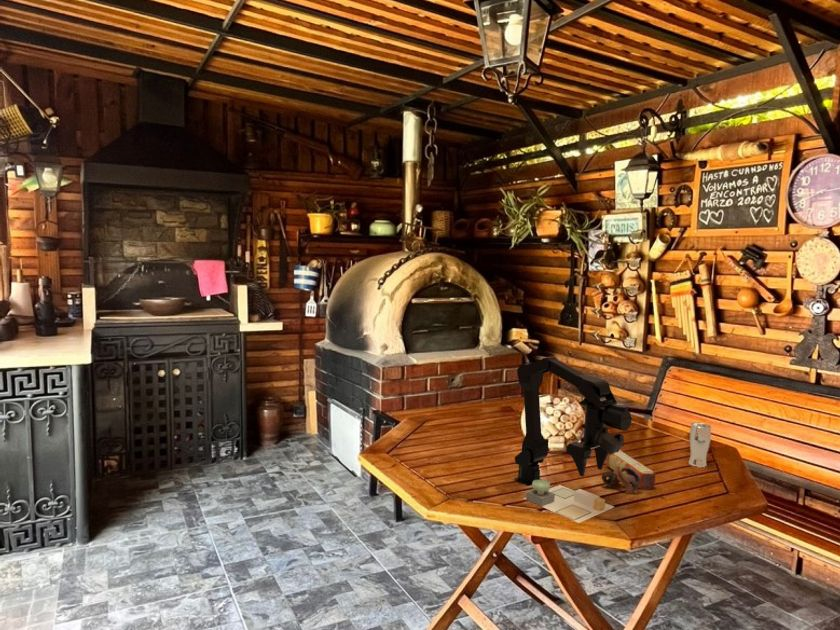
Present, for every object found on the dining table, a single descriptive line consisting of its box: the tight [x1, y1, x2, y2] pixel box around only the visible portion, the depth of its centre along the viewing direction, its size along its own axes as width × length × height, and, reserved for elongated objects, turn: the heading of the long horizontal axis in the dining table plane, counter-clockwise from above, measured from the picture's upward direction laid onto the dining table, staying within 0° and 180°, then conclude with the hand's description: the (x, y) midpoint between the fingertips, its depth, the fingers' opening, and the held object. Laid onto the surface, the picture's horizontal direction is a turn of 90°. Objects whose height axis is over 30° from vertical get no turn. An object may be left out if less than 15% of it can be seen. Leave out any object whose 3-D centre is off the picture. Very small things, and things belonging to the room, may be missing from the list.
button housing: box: [525, 488, 555, 507], centre depth 178 cm, size 6×6×3 cm
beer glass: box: [688, 422, 712, 468], centre depth 215 cm, size 7×7×15 cm
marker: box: [573, 488, 606, 510], centre depth 176 cm, size 9×3×3 cm, turn 40°
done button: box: [531, 479, 551, 496], centre depth 177 cm, size 5×5×4 cm
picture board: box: [523, 484, 614, 524], centre depth 177 cm, size 20×18×1 cm
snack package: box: [605, 449, 656, 490], centre depth 200 cm, size 21×7×7 cm, turn 13°
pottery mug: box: [601, 467, 640, 495], centre depth 189 cm, size 12×10×8 cm
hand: (590, 472), depth 175 cm, fingers open, 9 cm apart
